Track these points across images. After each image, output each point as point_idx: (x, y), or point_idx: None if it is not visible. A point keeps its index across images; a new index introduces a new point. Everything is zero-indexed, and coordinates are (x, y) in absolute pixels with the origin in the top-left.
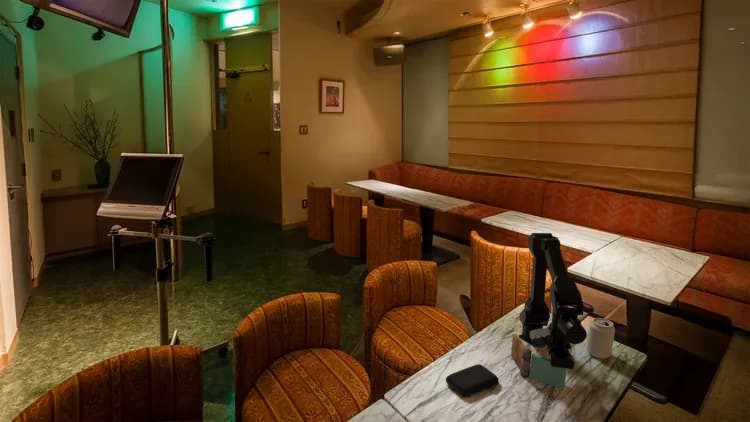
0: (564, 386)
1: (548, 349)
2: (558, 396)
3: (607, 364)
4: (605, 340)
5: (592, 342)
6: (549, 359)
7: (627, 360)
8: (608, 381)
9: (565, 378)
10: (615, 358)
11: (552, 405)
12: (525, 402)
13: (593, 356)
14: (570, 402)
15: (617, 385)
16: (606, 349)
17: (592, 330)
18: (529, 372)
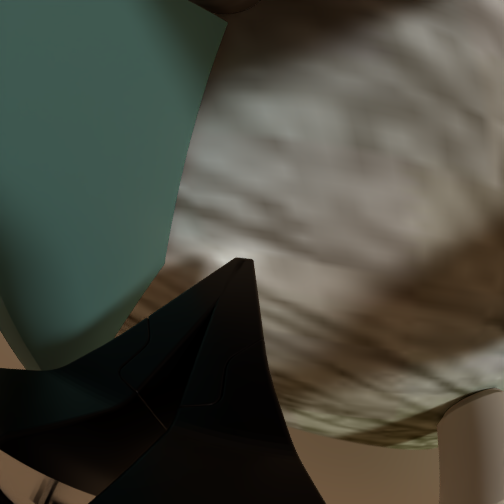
0: (158, 269)
1: (97, 496)
2: None
3: (412, 419)
4: (442, 488)
5: (478, 450)
6: (6, 312)
7: (420, 440)
8: (305, 411)
9: (130, 312)
10: (436, 428)
11: None
12: None
13: (465, 398)
14: None
15: (285, 419)
16: (439, 456)
17: (489, 494)
18: (206, 4)
